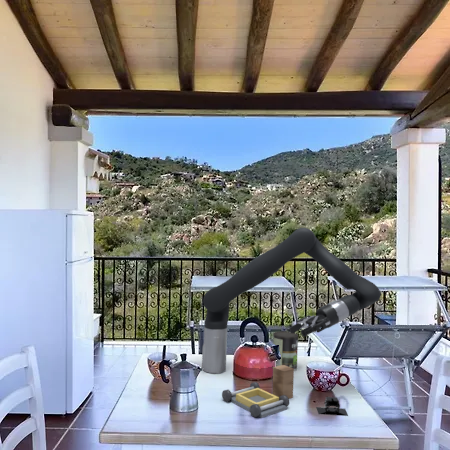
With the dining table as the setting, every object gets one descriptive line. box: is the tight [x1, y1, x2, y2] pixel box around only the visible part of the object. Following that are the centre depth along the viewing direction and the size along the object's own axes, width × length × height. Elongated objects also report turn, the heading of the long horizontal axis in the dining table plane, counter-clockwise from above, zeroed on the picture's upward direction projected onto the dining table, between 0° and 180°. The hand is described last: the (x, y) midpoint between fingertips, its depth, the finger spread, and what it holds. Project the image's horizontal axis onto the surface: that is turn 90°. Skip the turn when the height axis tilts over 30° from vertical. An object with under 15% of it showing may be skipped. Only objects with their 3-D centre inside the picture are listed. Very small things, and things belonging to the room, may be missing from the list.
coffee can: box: [272, 330, 299, 372], centre depth 181 cm, size 10×10×14 cm
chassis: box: [221, 381, 290, 419], centre depth 144 cm, size 18×14×4 cm
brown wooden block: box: [271, 365, 295, 400], centre depth 151 cm, size 5×5×10 cm
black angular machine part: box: [315, 396, 349, 417], centre depth 140 cm, size 12×7×5 cm, turn 86°
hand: (296, 332), depth 152 cm, fingers open, 8 cm apart
